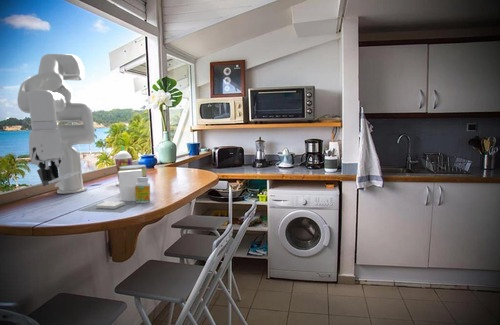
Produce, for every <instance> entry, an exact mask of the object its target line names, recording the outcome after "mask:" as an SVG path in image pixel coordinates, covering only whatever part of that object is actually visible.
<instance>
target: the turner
mask: <svg viewBox="0 0 500 325" xmlns="http://www.w3.org/2000/svg"><path fill="white" fill-rule="evenodd" d="M49 169H50V170H51V177H52V180H51V181H43V177H42V170H41V169H37V170H36V172H37V174H38V177H39V179H40V181H41V184H42V187H47V186H50V185H52V184H53V185H54V184H56V183H58V182H60V181H61V180H64V179H66V178H68V177H71V176H73V175H75V174H78V173H80V172H83V170H82V169H81V170H79V171H75V172H70V173H68V174H65V175H63V176H61V177H59V178H56V176H55V174H54V171H53V169H52V165H51V166H50V165H49Z"/></svg>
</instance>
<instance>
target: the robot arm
mask: <svg viewBox="0 0 500 325" xmlns="http://www.w3.org/2000/svg"><path fill="white" fill-rule="evenodd" d="M85 70H86V69H85V66H84V65H83V62H82V60H81V59H80V58H79V57H78V56H77V55H74V54H69V53H46V54H44V55H43V56H41V58H40V62H39V65H38V71H37V74H35V75H34V74H33V76H30V77H29V78H27V79H26V80H23V82H22V83H21V85H20V86H19V89H18V94H17V107H18V108H19V110H20V111H21V112H23V113H25V114H30V124H31V131H29V137H28V152H29V159H30V160H31V161H30V163H31V164H32V165H34V166H37V167H38V168H39V169H41V170H42V177H43V181H51V180H52V177H51V170H50V169H49V166H51V165H52V169H53V171H54V174H55V176H56V178H59V177H61V176H63V175H65V174H68V173H70V172H75V171H79V170H82V163H81V162H82V161H81V153H80V151H79V150H78V149H76V147H74V146H77V145H90V144H93V143H95V125H94V115H93V110H92V106H91V104H90V103H89V102H88V101H86V100H85V101H84V100H74V95H73V89H72V88H71V86H70V85H69V84H67V83H66V82H65V81H83V80H84V79H85V74H86V73H85V72H86V71H85ZM58 122H63V123H65V122H66V123H67V122H82V123H73V124H72V123H70V124H59V123H58ZM73 145H74V146H73ZM39 169H38V170H39ZM82 172H83V171H82ZM82 172H80V173H78V174H75V175H73V176H71V177H68V178H66V179H64V180H61V181H58V182H56V183H54V188H58V189H57V190H56V192H57V194H60V195H61V194H63V195H65V194H67V195H68V194H75V193H76V194H77V193H81V192H85V191H87V190H88V186H84V183H83V182H84V181H83V173H82Z"/></svg>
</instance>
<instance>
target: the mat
mask: <svg viewBox="0 0 500 325" xmlns="http://www.w3.org/2000/svg"><path fill="white" fill-rule="evenodd" d="M103 202H104V201H100V202H97V203H96V204H92V205H90V206H87V207H84V208H82V209H79V210H77V211H78V212H95V213H96V212H97V213H98V212H99V213H121V214H122V213H124V212H126V211H128V210H130V209H132V208H135V207H137V206H139V205H142V204H143V203H136V202H132V201H124V202H125V205H123V206H121V207H119V208H116V209H101V208H96V205H98V204H101V203H103Z"/></svg>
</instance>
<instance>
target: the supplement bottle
mask: <svg viewBox="0 0 500 325" xmlns="http://www.w3.org/2000/svg"><path fill="white" fill-rule="evenodd" d="M137 180H138V183H136V185H135V200H134V201H135V202H134V203H142V204H147V203H149V202H150V201H151V183H150V182H149V177H148V176H147V177H138V178H137Z"/></svg>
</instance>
